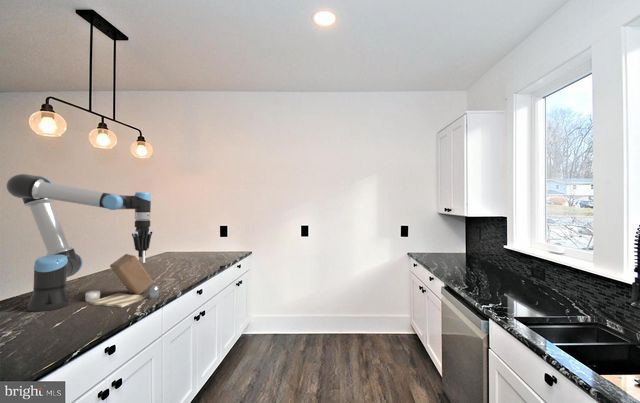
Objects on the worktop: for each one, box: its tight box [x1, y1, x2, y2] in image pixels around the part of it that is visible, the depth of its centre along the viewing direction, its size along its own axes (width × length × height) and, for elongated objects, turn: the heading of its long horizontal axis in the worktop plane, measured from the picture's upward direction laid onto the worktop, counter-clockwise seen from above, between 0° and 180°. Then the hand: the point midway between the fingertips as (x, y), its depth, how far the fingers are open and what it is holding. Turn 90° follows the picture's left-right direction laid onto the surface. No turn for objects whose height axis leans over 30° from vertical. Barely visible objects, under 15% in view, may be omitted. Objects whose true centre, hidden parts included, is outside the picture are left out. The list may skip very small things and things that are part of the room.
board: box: [89, 292, 148, 308], centre depth 153 cm, size 18×16×1 cm
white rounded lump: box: [84, 290, 101, 303], centre depth 154 cm, size 6×6×4 cm
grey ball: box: [147, 284, 160, 300], centre depth 160 cm, size 5×5×6 cm
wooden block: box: [109, 253, 154, 295], centre depth 163 cm, size 10×10×20 cm
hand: (142, 262), depth 167 cm, fingers closed
